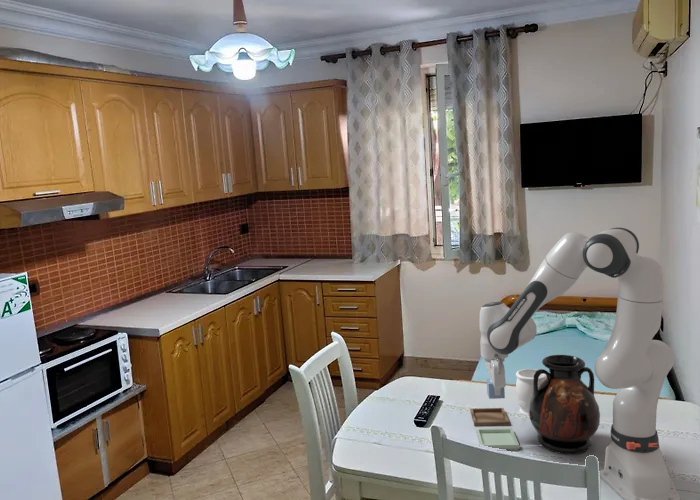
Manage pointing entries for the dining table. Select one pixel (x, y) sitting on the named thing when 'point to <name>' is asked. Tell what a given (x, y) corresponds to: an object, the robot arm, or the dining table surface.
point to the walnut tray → (489, 417)
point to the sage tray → (498, 438)
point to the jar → (526, 388)
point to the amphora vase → (564, 405)
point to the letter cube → (491, 391)
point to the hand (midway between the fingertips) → (495, 391)
